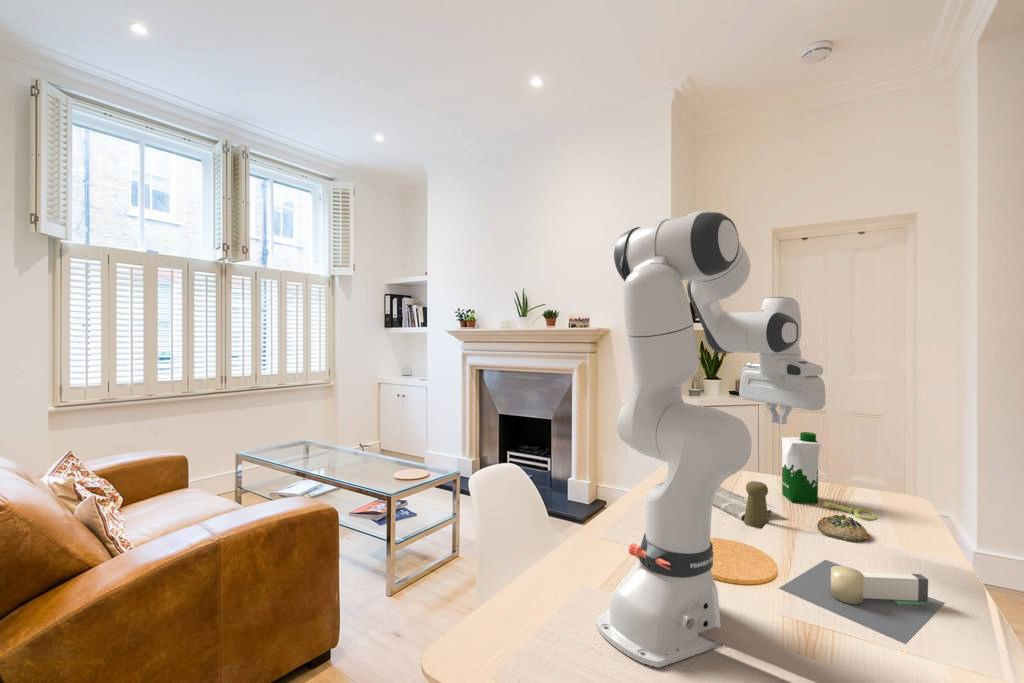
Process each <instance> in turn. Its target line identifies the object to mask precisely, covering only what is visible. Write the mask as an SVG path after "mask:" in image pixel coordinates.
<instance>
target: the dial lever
mask: <svg viewBox="0 0 1024 683" xmlns="http://www.w3.org/2000/svg"><path fill="white" fill-rule="evenodd" d="M855 569H856V568H852V567H849V566H846V565H845V566H844V565H842V566H833V567H832V568H831V595H832V596H833V597H835V598H836V599H838V600H840V601H843V602H846V603H850V604H860V603H862V602H863V598H871V599H893V600H915V601H928V597H929V579H928V578H927V577H925V576H924V575H922V574H921V573H891V572H890V573H887V572H867V571H866V572H864V571H859V570H858V569H857V570H858V571H857V570H855Z"/></svg>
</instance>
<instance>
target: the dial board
mask: <svg viewBox="0 0 1024 683" xmlns="http://www.w3.org/2000/svg"><path fill="white" fill-rule="evenodd" d="M833 566H843V565H842V564H839V563H836V562H833V561H830V560H827V559H824V560H822V561H821V562H819V563H817V564H816V565H814V566H812V567H810V568H809V569H807V570H806V571H804V572H803V573H801V574H799V575H798V576H795V578H793V579H792V580H790V581H788V582H786V583H784V584H783V585H782V586H779V587H778V589H779V590H782V591H784V593H785V592H786V593H788V594H790V595H793V596H794V597H795V596H796V597H797V598H799V599H802V600H804V601H806V602H808V603H811V604H813V605H815V606H817V607H821V608H822V609H824V610H827V611H829V612H831V613H834V614H836V615H838V616H841V617H843V618H845V619H847V620H850V621H851V622H854V623H857V624H859V625H861V626H864V627H865V628H868V629H870V630H872V631H875V632H877V633H879V634H882V635H884V636H886V637H889V638H891V639H893V640H895V641H897V642H900V643H902V644H904V645H906V644H907V643H908V642H909V641H910V640H911V639H912V638H913V637H914V635H916V633H918V632H919V631H920V629H922V627H923V626H925V624H927V622H928V621H929V620H930V619H932V617H933V616H934V615H935V614H936V613H937V612H938V611H939V610H940V609H941V608H942V607H943V606H944V605H945V604H946V603H945V602H944V601H941V600H938V599H934V598H933V597H930V596H928V601H915V600H893V599H871V598H863V602H862V603H860V604H850V603H846V602H843V601H840V600H838V599H836V598H835V597H833V596H832V595H831V568H832V567H833ZM854 569H855V570H857V571H859V570H858V569H856V568H854Z"/></svg>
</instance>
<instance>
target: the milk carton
mask: <svg viewBox="0 0 1024 683" xmlns="http://www.w3.org/2000/svg"><path fill="white" fill-rule="evenodd" d="M781 445H782V446H781V447H782V448H781V449H782V451H781V453H782V456H781V457H782V458H781V460H782V461H781V462H782V463H781V464H782V465H781V468H782V469H781V471H782V472H781V475H782V476H781V489H782V490H781V492H782V496H783V497H785V498H786V499H787V500H788V501H790V503H792V504H812V505H813V504H815V505H818V504H819V456H820V452H821V451H820V449H821V445H822V444H821V443H820V442H819V441H817V434H816V433H814V432H810V431H809V432H807V431H802V432H800V436H799V437H795V436H790V437H787V436H783V437H782V436H781Z"/></svg>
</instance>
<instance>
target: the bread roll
mask: <svg viewBox="0 0 1024 683" xmlns="http://www.w3.org/2000/svg"><path fill="white" fill-rule="evenodd" d="M817 528H818V530H819V531H820V533H821V534H823V535H824V536H825V537H829V538H831V539H835V540H839V541H845V542H860V541H867V539H870V537H871V535H870V534H869V533H868V531H867V529H866V528H865V527H864V526H863V525H862V524H860V523H859V522H858V521H857V520H855V519H854V518H853V517H851V516H849V517H847V516H846V515H845V514H842V515H838V514H834V515H830V516H825V517H822V518H821V519H819V520H818V522H817Z"/></svg>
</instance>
